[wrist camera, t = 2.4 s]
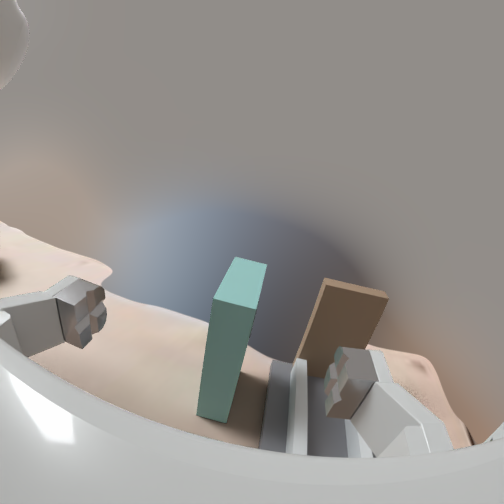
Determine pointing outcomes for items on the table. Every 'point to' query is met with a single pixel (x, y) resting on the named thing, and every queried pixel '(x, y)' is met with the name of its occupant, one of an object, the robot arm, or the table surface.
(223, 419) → the teal rectangular block
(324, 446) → the track base
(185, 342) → the table surface
